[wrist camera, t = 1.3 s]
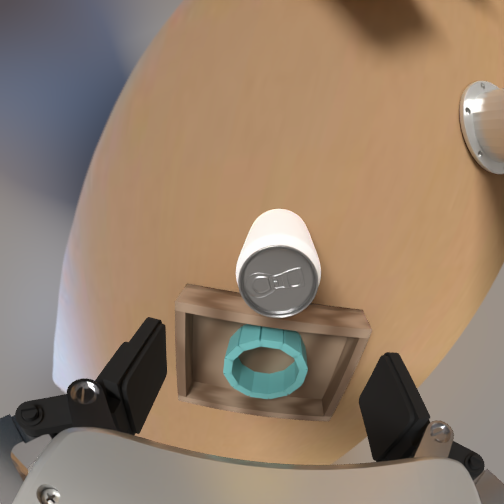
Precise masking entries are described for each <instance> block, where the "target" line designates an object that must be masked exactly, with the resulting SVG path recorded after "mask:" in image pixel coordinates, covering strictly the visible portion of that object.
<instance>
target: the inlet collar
mask: <svg viewBox="0 0 504 504" xmlns="http://www.w3.org/2000/svg"><path fill="white" fill-rule="evenodd" d="M257 347H268V348H275V349H280V350H282V351H283V352H285V353H287V354H288V355H290V356H291V357H293V358H294V360H295V361H294V362H293V363H292V364H291V365H290V366H289V367H287V368H286V369H285V370H283V371H279V372H275V373H271V374H268V373H260V372H254V371H253V370H251V369H249V368H248V367H246V366H244V365H243V364H242V363H241V361H240V359H239V358H238V356H239V355H240V354H241V353H242V352H243V351H246V350H250V349H254V348H257ZM307 371H308V366H307V356H306V348H305V345H304V343H303V340H302V338H301V335H299V333H298V332H297V331H292V330H285V329H278V328H271V327H264V326H258V325H251V324H246V325H243V327H242V326H241V327H240V328H239V329H238V330H237V331H236V332H235V334H234V335H233V336H232V337H231V338H230V340H229V344H228V348H227V351H226V355H225V359H224V369H223V373H224V376H225V377H226V379H227V380H228V382H229V383H230V385H231V386H232V387H233V388H234V389H236V390H238V391H239V392H241V393H243V394H245V395H247V396H249V395H250V397H255V398H262V399H268V398H269V399H273V398H278V397H282V396H287V395H288V394H291V393H292V392H293V391H295V390H296V389H297V388H299V387H300V386H301V385H302V384H303V382H304V380H305V377H306V374H307Z"/></svg>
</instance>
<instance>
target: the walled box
mask: <svg viewBox="0 0 504 504" xmlns="http://www.w3.org/2000/svg"><path fill="white" fill-rule="evenodd" d="M246 324H251V325H258V326H264V327H271V328H278V329H285V330H292V331H297V332H298V333H299V335H301V338H302V340H303V343H304V345H305V348H306V356H307V366H308V371H307V374H306V377H305V380H304V382H303V384H302V385H301V386H300V387H299V388H297V389H296V390H295V391H293V392H292V393H291V394H288V395H287V396H282V397H278V398H273V399H269V398H268V399H262V398H255V397H250V395H249V396H247V395H245V394H243V393H241V392H239V391H238V390H236V389H234V388H233V387H232V386H231V385H230V383H229V382H228V380H227V379H226V377H225V376H224V373H223V369H224V359H225V355H226V351H227V348H228V344H229V340H230V338H231V337H232V336H233V335H234V334H235V332H236V331H237V330H238V329H239V328H240V327H241V326H242V327H243V325H246ZM371 332H372V328H371V326H370V324H369V322H368V320H367V318H366V316H365V314H364V311H363V310H359V309H350V308H342V307H334V306H326V305H318V304H311V303H310V305H309V306H308V307H307V308H305V309H304V310H303V311H301V312H300V313H298V314H296V315H293V316H290V317H286V318H271V317H266V316H263V315H261V314H259V313H257V312H255V311H254V310H252V309H251V308H250V307H249V306H248V305H247V304H246V303H245V301H244V300H243V298H242V296H241V294H240V293H238V292H232V291H226V290H220V289H214V288H208V287H203V286H197V285H192V284H187V285H186V286H185V287H184V289H183V290H182V292H181V293H180V295H179V296H178V297H177V299H176V300H175V342H176V369H177V388H178V400H179V401H184V402H188V403H192V404H196V405H201V406H205V407H210V408H215V409H220V410H226V411H231V412H237V413H244V414H250V415H257V416H265V417H274V418H284V419H295V420H310V421H330V419H331V417H332V415H333V413H334V411H335V410H336V408H337V406H338V404H339V402H340V400H341V398H342V396H343V394H344V392H345V390H346V388H347V386H348V384H349V382H350V380H351V378H352V376H353V374H354V371H355V369H356V367H357V365H358V363H359V360H360V358H361V356H362V354H363V351H364V349H365V347H366V344H367V342H368V339H369V337H370V334H371ZM238 358H239V359H240V361H241V363H242V364H243V365H244V366H246V367H248V368H249V369H251V370H253V371H254V372H260V373H268V374H271V373H275V372H279V371H283V370H285V369H286V368H287V367H289V366H290V365H291V364H292V363H293V362H294V361H295V360H294V358H293V357H291V356H290V355H288V354H287V353H285V352H283V351H282V350H280V349H275V348H268V347H257V348H254V349H250V350H246V351H243V352H242V353H241V354H240V355H239V356H238Z"/></svg>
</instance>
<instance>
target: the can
mask: <svg viewBox="0 0 504 504" xmlns="http://www.w3.org/2000/svg"><path fill="white" fill-rule="evenodd" d="M236 279H237V283H238V286H239V291H240V294H241V296H242V298H243V300H244V301H245V303H246V304H247V305H248V306H249V307H250V308H251V309H252V310H254V311H255V312H257V313H259V314H261V315H263V316H266V317H271V318H286V317H290V316H293V315H296V314H298V313H300V312H301V311H303V310H304V309H305V308H307V307H308V306H309V305H310V303H311V302H312V301H313V299H314V297H315V295H316V293H317V289H318V286H319V283H320V279H321V266H320V262H319V258H318V255H317V252H316V250H315V247H314V244H313V241H312V239H311V236H310V234H309V231H308V229H307V227H306V225H305V223H304V221H303V220H302V219H301V218H300V217H299V216H298V215H297V214H295V213H293V212H291V211H289V210H285V209H273V210H269V211H267V212H265V213H263V214H261V215H260V216H259V217H258V218H257V219H256V220H255V221H254V223H253V225H252V226H251V229H250V231H249V233H248V236H247V238H246V240H245V243H244V245H243V248H242V250H241V253H240V256H239V258H238V262H237V266H236Z"/></svg>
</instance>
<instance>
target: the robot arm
mask: <svg viewBox="0 0 504 504" xmlns="http://www.w3.org/2000/svg"><path fill="white" fill-rule="evenodd" d="M459 112H460V123H461V129H462V133H463V136H464V139H465V142H466V144H467V147H468V149H469V151H470V152H471V154H472V156H473V157H474V159H475V160H476V161H477V163H478V164H479V165H480V166H481V167H482V168H484V169H485V170H487V171H488V172H491V173H494V174H504V88H502V89H499V88H498V87H497V86H496V85H494V84H492V83H490V82H487V81H477V82H473V83H471V84H470V85H468V86H467V88H466V89H465V90H464V92H463V94H462V97H461V101H460V111H459ZM166 374H167V360H166V331H165V325H164V324H162V322H161V320H158V319H154V318H150V317H148V318H147V319H146V320H145V321H144V323H143V324H142V325H141V327H140V328H139V329H138V331H137V332H136V333H135V335H134V336H133V337H132V339H131V340H130V341H129V342H124V343H123V344H122V345H121V346H120V347H119V349H118V350H117V351H116V353H115V354H114V355H113V357H112V358H111V360H110V361H109V362H108V364H107V365H106V366H105V368H104V369H103V370H102V372H101V373H100V375H99V376H98V377H97V379H96V380H95V381H94V380H92V379H87V378H86V379H78V380H76V381H74V382H72V383H71V384H70V385H69V387H68V389H67V394H65V395H60V396H55V397H50V398H44V399H38V400H32V401H27V402H24V403H22V404H21V405H20V406H19V407H18V408H17V410H16V413H15V415H14V416H12V417H11V415H10V414H9V415H7V416H5V417H2V418H0V502H1V504H504V484H503V483H502V482H501V481H500V480H499V479H498V478H497V477H496V476H495V475H493V474H492V473H491V472H490V471H489V470H488V469H486V470H484V461H483V459H482V457H481V456H480V455H478V454H477V453H475V452H473V451H471V450H470V449H468V448H466V447H464V446H462V445H460V444H458V443H456V442H454V441H453V439H454V433H453V430H452V429H451V427H450V426H449V425H448V424H446V423H445V422H442V421H432V422H431V423H430V421H429V418H430V415H429V413H428V411H427V409H426V407H425V405H424V402H423V401H422V398H421V396H420V394H419V392H418V390H417V388H416V386H415V384H414V382H413V380H412V378H411V376H410V374H409V372H408V370H407V368H406V366H405V364H404V363H403V361H402V359H401V357H400V355H399V354H398V353H389V352H387V353H385V354H384V355H382V356H381V357H380V359H379V361H378V363H377V365H376V367H375V369H374V371H373V373H372V375H371V377H370V379H369V381H368V382H367V384H366V386H365V388H364V390H363V392H362V393H361V395H360V398H359V405H360V409H361V413H362V416H363V420H364V424H365V428H366V432H367V436H368V440H369V444H370V448H371V452H372V457H373V459H374V460H375V461H376V462H372V463H360V464H344V465H294V464H277V463H265V462H255V461H247V460H240V459H233V458H226V457H220V456H215V455H209V454H204V453H200V452H195V451H191V450H186V449H182V448H178V447H174V446H170V445H166V444H162V443H159V442H155V441H152V440H148V439H145V438H141V437H137V436H134V435H135V433H137V434H139V433H140V431H141V429H142V427H143V425H144V423H145V420H146V418H147V416H148V414H149V412H150V410H151V407H152V405H153V403H154V401H155V399H156V397H157V395H158V392H159V390H160V388H161V386H162V384H163V382H164V380H165V377H166ZM37 457H38V458H37ZM35 461H36V462H35ZM33 462H35V463H34V465H33V466H32V468H31V470H30V471H29V473H28V468H29V466H30V465H31V464H32V463H33Z"/></svg>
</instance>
